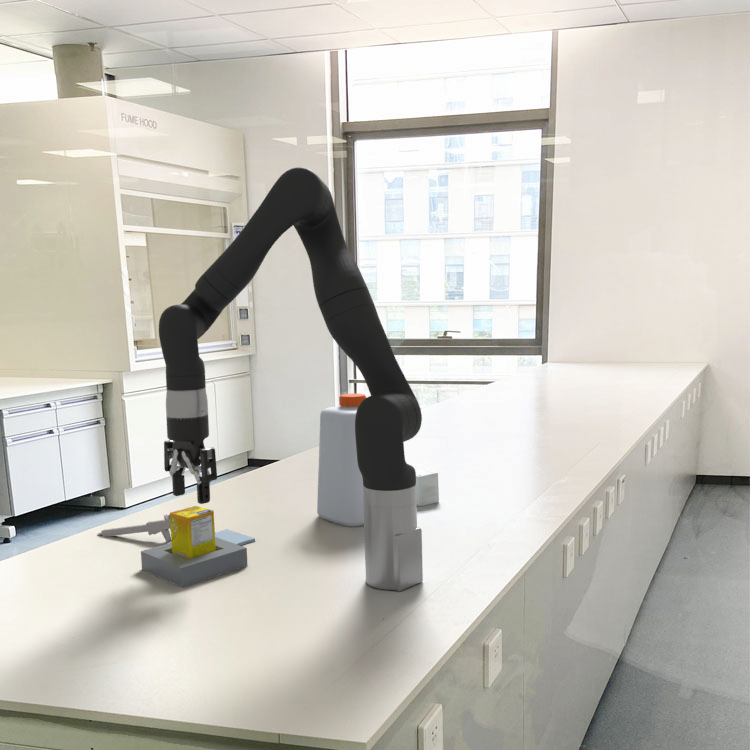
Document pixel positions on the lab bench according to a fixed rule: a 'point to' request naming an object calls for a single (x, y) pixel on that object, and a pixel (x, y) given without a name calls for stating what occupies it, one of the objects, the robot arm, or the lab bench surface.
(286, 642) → the lab bench surface
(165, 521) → the caliper
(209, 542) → the supplement box
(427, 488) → the skincare box
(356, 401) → the plastic bottle
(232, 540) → the pad
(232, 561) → the socket block
